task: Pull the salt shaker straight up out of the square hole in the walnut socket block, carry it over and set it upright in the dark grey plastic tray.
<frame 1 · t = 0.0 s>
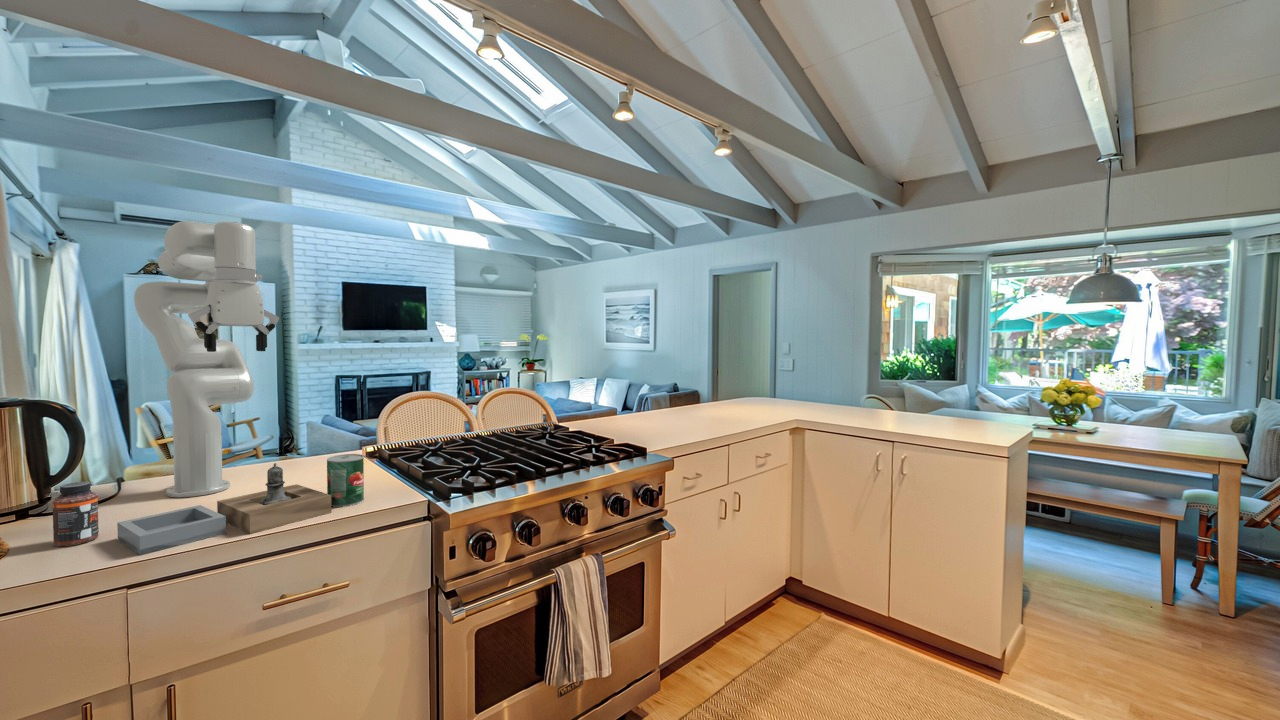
hand: (236, 351, 120), 37 cm above the worktop, tool pointing down, fingers open, 9 cm apart
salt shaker: (275, 516, 116), resting in socket block
socket block: (275, 515, 116), on the worktop
supplement bottle: (76, 542, 100), on the worktop
canned tomato: (345, 502, 127), on the worktop
tray: (173, 536, 103), on the worktop
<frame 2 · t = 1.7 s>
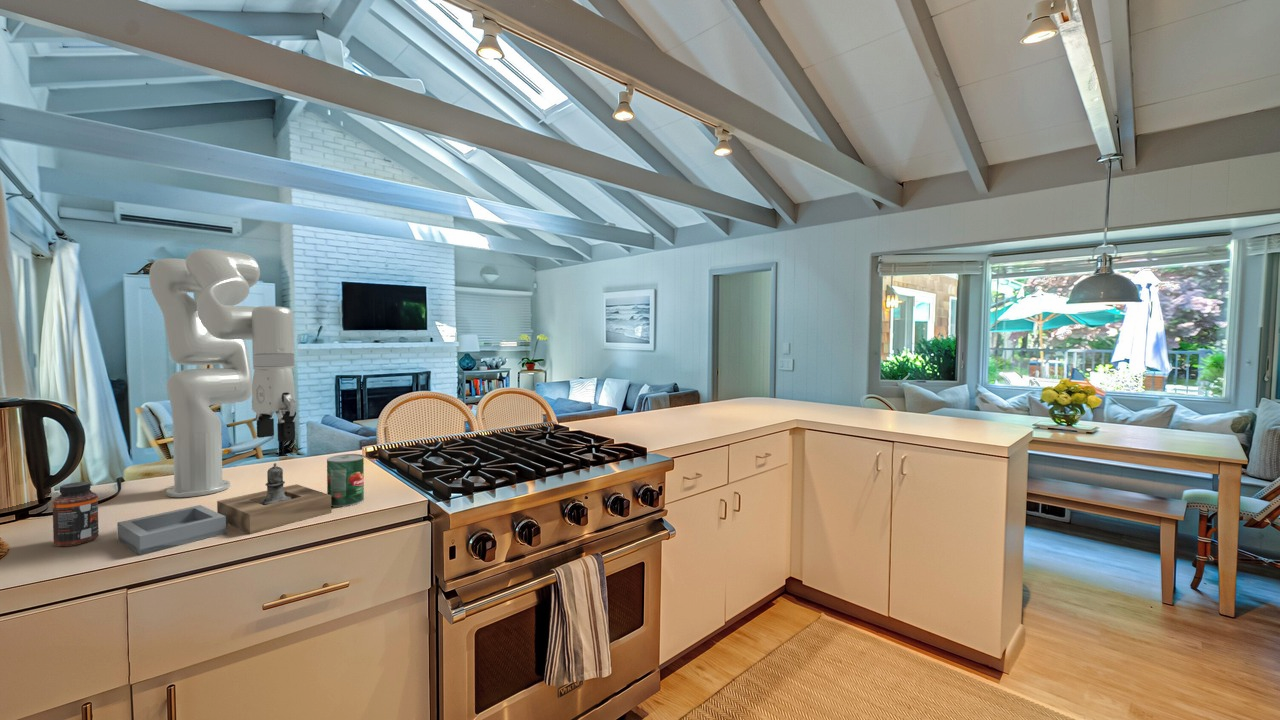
hand: (275, 438, 115), 18 cm above the worktop, tool pointing down, fingers open, 9 cm apart
nothing on the worktop moved.
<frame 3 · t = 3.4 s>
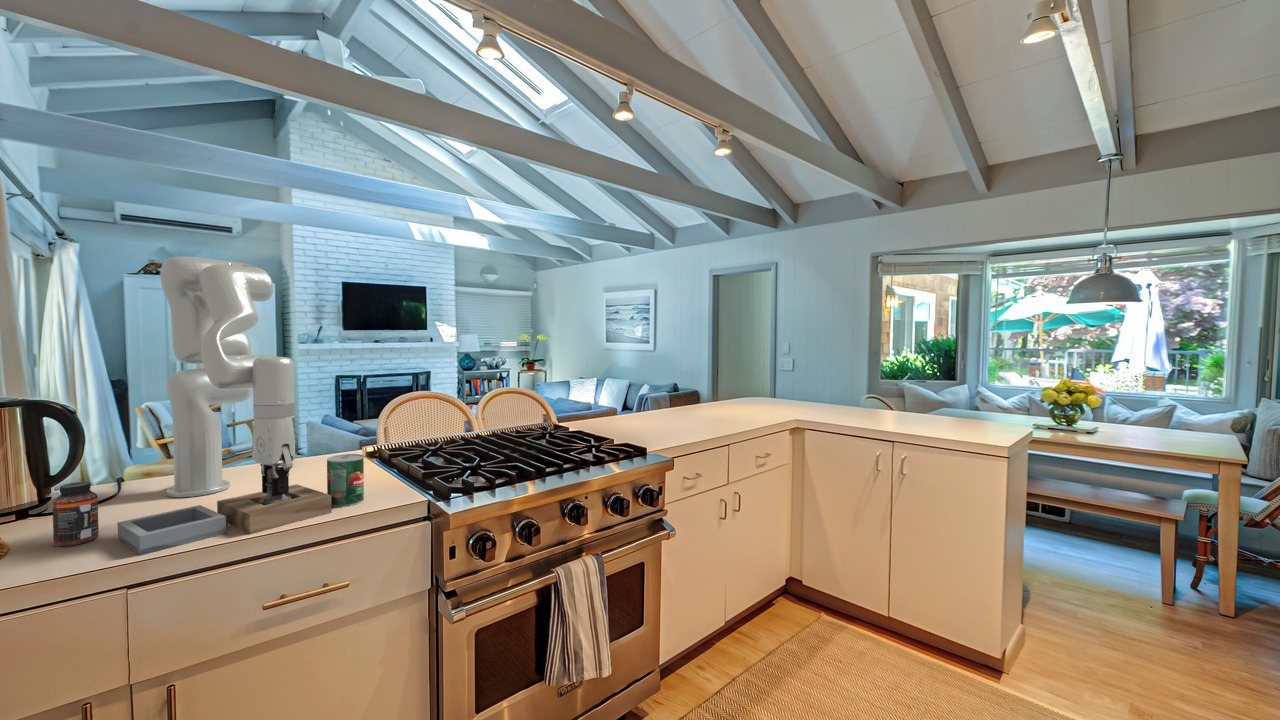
hand: (275, 492, 116), 5 cm above the worktop, tool pointing down, fingers closed on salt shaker, 3 cm apart
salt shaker: (275, 516, 116), resting in socket block, touching gripper
everything else where it was.
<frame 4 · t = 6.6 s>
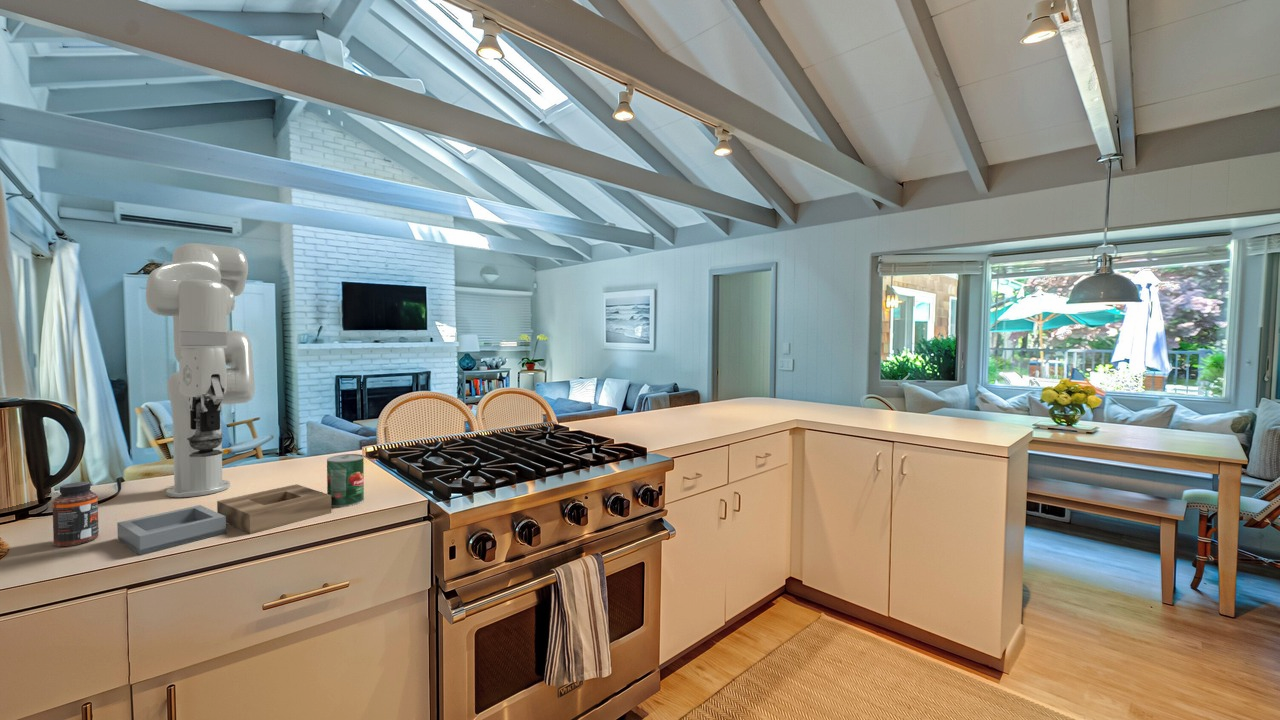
hand: (205, 428, 107), 21 cm above the worktop, tool pointing down, fingers closed on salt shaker, 3 cm apart
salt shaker: (206, 455, 107), point 16 cm above the worktop, touching gripper
everything else where it was.
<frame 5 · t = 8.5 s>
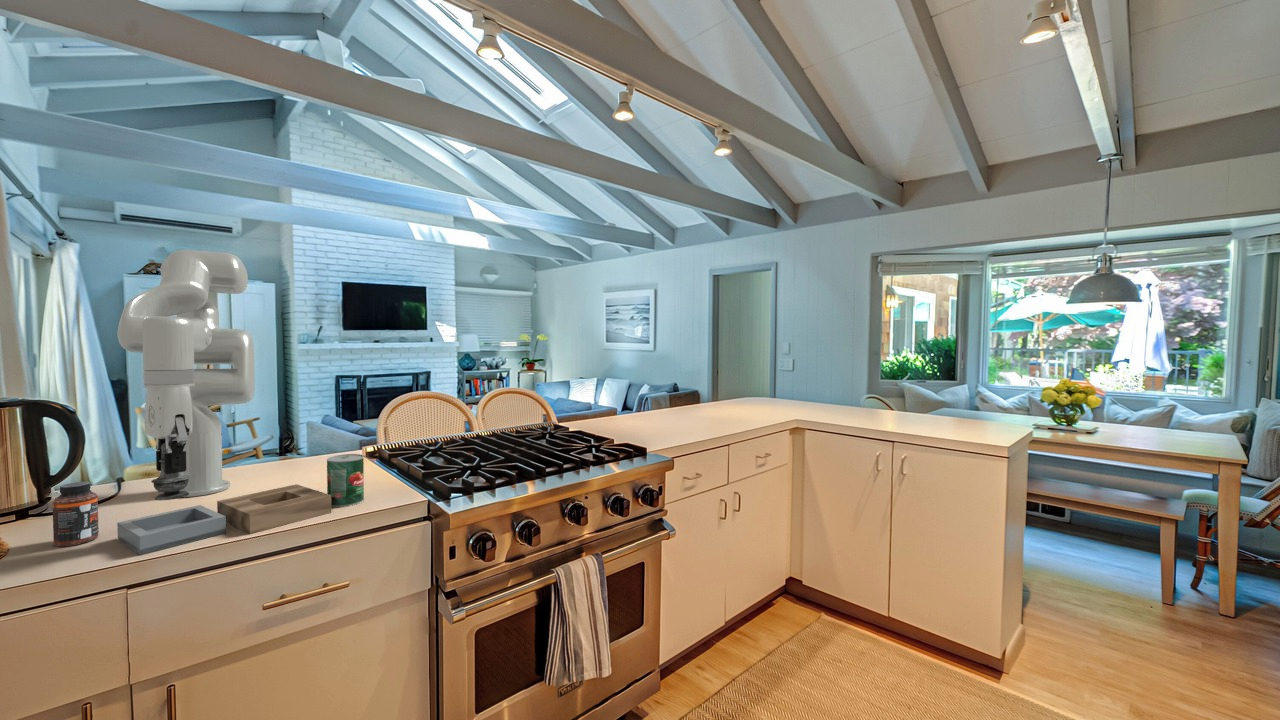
hand: (171, 470, 103), 13 cm above the worktop, tool pointing down, fingers closed on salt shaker, 3 cm apart
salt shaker: (171, 497, 103), point 8 cm above the worktop, touching gripper
everything else where it was.
when the fingers open (8 cm above the worktop, at t = 9.9 s): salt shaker drops 1 cm, resting on tray.
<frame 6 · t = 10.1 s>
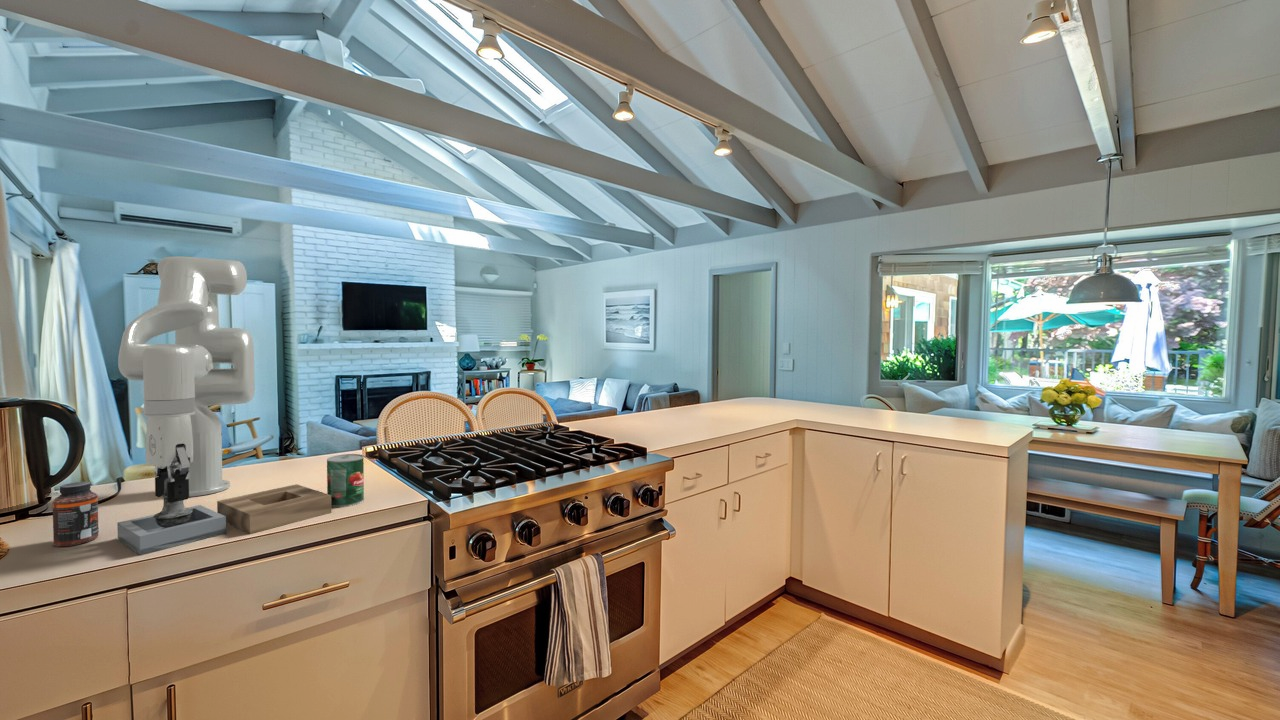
hand: (172, 497, 103), 8 cm above the worktop, tool pointing down, fingers open, 5 cm apart
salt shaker: (173, 531, 104), point 1 cm above the worktop, touching tray
everything else where it was.
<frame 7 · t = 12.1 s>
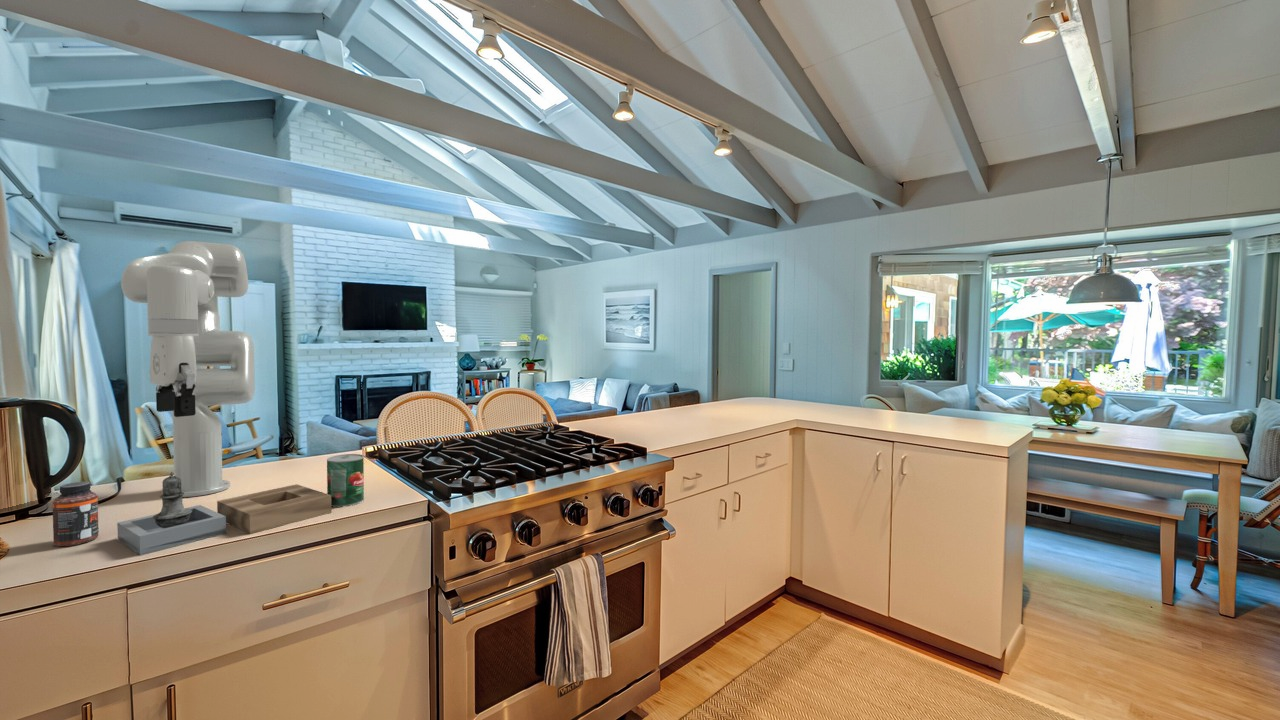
hand: (175, 413, 104), 25 cm above the worktop, tool pointing down, fingers open, 9 cm apart
nothing on the worktop moved.
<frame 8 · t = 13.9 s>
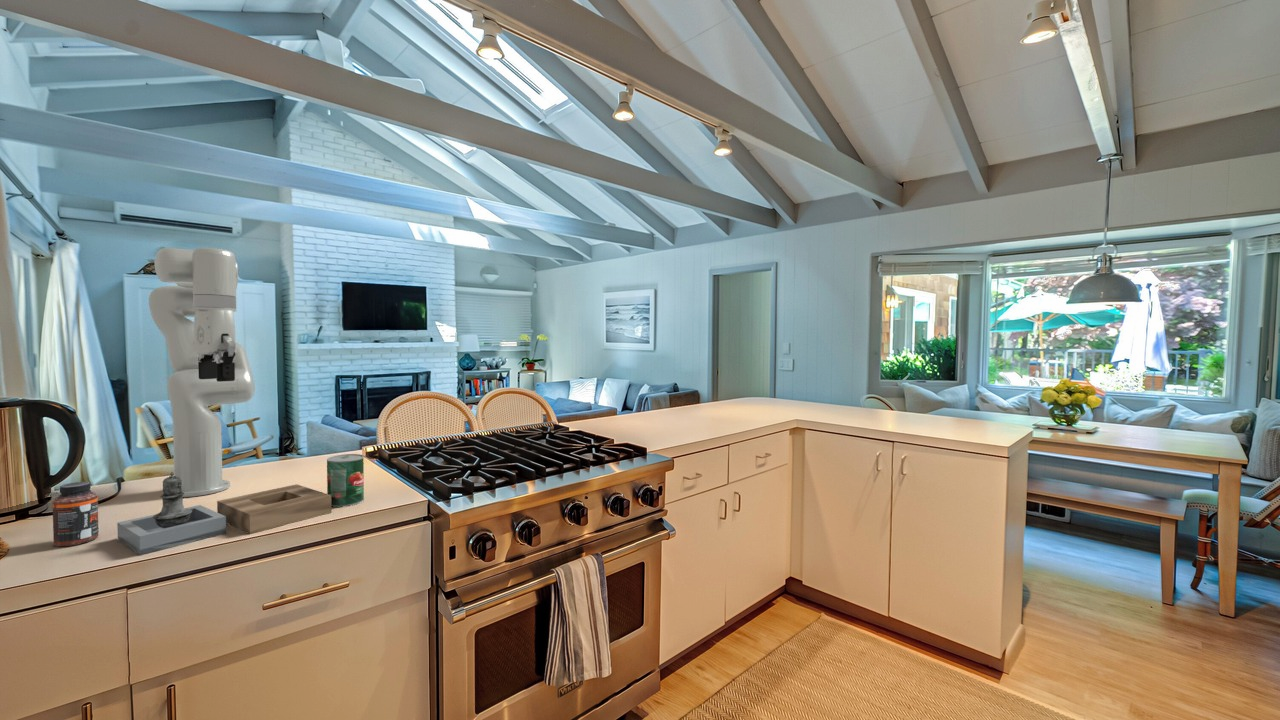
hand: (216, 380, 117), 30 cm above the worktop, tool pointing down, fingers open, 9 cm apart
nothing on the worktop moved.
at the end: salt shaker inside the target area on the tray (0.2 cm from its centre), point 0.8 cm above the tray's base; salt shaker tilted 0°; the gripper is holding nothing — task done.
